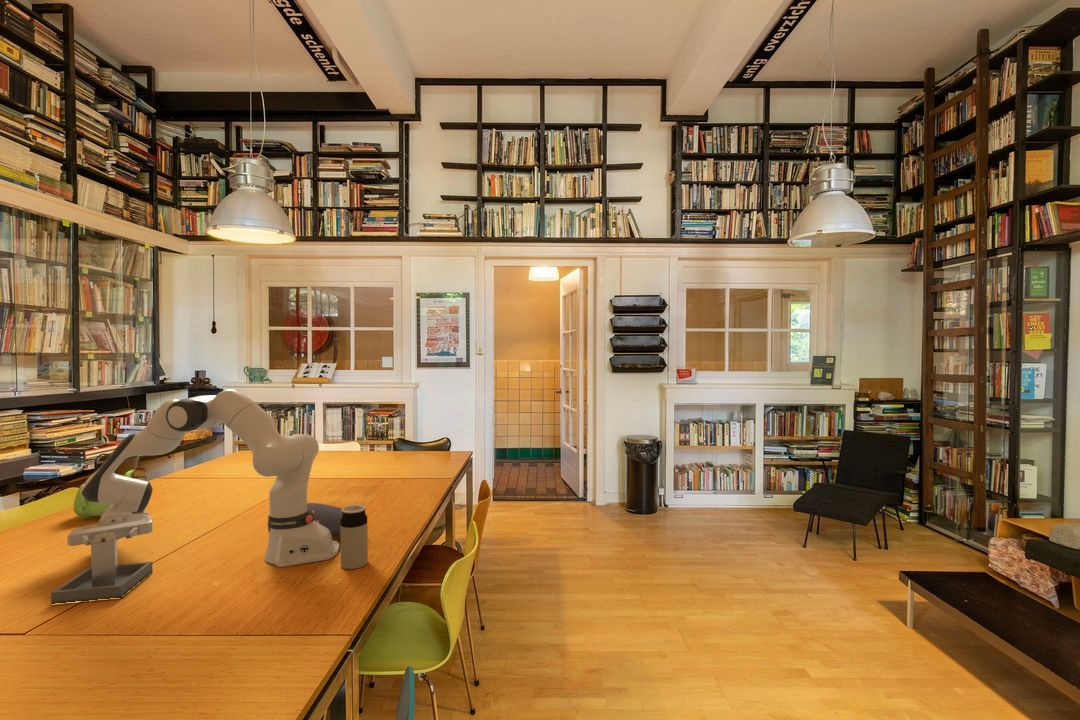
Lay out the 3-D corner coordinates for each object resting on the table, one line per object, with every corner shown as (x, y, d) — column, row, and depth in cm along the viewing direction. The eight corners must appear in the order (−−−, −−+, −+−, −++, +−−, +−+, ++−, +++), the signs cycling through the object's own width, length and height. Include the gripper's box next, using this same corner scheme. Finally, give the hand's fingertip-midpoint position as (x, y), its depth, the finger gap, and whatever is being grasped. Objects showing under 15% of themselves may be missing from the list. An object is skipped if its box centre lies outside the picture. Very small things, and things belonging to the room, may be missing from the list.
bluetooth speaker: (297, 531, 185) (296, 505, 185) (318, 523, 194) (318, 498, 193) (339, 543, 175) (339, 514, 174) (360, 534, 183) (360, 507, 183)
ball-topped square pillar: (117, 578, 146) (116, 528, 145) (115, 585, 141) (114, 534, 141) (95, 583, 143) (93, 532, 142) (92, 590, 139) (90, 538, 138)
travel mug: (358, 571, 153) (358, 513, 153) (335, 568, 155) (335, 511, 154) (372, 560, 161) (372, 504, 160) (350, 558, 162) (349, 503, 162)
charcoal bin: (152, 572, 152) (152, 561, 152) (121, 599, 136) (120, 586, 136) (90, 578, 148) (90, 566, 148) (51, 605, 132) (50, 592, 132)
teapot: (114, 524, 193) (113, 483, 192) (59, 523, 193) (58, 483, 193) (164, 503, 218) (163, 467, 217) (115, 503, 218) (114, 467, 218)
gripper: (71, 522, 156) (61, 536, 145) (153, 510, 168) (151, 522, 156) (71, 542, 156) (62, 557, 145) (154, 528, 168) (151, 542, 156)
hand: (109, 539), depth 151 cm, fingers open, 8 cm apart
